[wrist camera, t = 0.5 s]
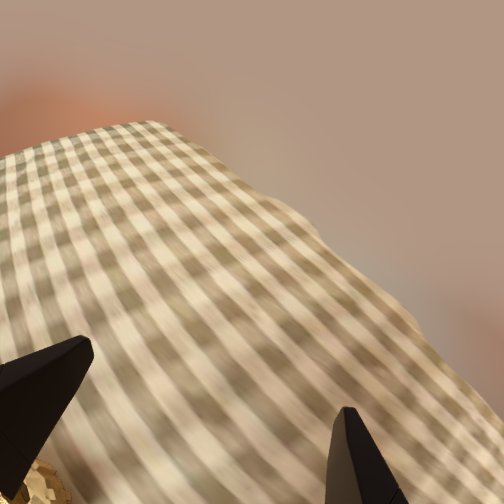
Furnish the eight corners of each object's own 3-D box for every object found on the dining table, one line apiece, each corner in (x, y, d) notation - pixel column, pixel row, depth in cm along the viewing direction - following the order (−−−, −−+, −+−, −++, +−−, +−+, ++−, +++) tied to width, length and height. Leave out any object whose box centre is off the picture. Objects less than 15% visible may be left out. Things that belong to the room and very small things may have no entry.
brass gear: (50, 546, 8) (32, 551, 6) (-12, 487, 10) (-34, 482, 7) (87, 495, 13) (72, 494, 11) (23, 439, 15) (4, 428, 12)
